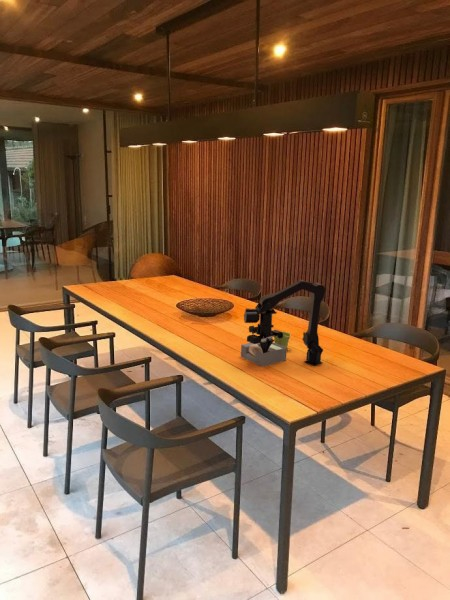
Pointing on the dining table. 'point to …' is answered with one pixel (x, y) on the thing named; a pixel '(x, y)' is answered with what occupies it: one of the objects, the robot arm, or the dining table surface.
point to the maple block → (255, 349)
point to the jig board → (264, 354)
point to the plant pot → (283, 339)
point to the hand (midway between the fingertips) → (264, 353)
